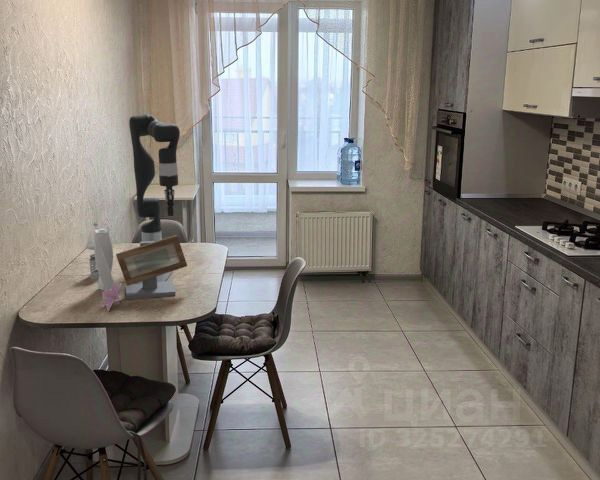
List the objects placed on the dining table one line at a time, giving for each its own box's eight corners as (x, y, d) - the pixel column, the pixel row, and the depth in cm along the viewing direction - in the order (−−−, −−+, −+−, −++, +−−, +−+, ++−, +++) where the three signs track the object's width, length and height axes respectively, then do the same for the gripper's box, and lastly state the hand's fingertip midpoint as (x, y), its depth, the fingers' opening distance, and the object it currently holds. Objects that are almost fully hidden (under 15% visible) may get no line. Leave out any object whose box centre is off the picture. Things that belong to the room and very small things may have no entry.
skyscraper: (119, 288, 277) (115, 225, 271) (106, 292, 271) (101, 228, 265) (107, 285, 282) (102, 223, 275) (93, 289, 276) (88, 226, 269)
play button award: (173, 270, 301) (163, 282, 282) (173, 273, 301) (163, 286, 282) (139, 270, 301) (127, 282, 282) (139, 273, 302) (127, 286, 282)
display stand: (126, 288, 278) (122, 239, 273) (172, 284, 283) (170, 236, 278) (126, 299, 263) (122, 248, 258) (175, 295, 268) (172, 245, 263)
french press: (86, 274, 298) (82, 222, 292) (112, 271, 303) (108, 219, 298) (90, 279, 290) (85, 225, 284) (116, 276, 295) (112, 223, 289)
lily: (104, 304, 260) (93, 287, 255) (131, 291, 261) (120, 274, 256) (107, 322, 251) (95, 305, 245) (134, 309, 252) (123, 292, 246)
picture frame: (127, 284, 268) (116, 254, 264) (187, 264, 273) (176, 234, 269) (127, 286, 266) (115, 255, 262) (187, 266, 271) (177, 235, 267)
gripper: (158, 172, 267) (160, 213, 271) (159, 176, 254) (162, 219, 258) (176, 171, 268) (178, 212, 272) (179, 175, 256) (181, 218, 260)
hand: (170, 215), depth 265 cm, fingers closed
